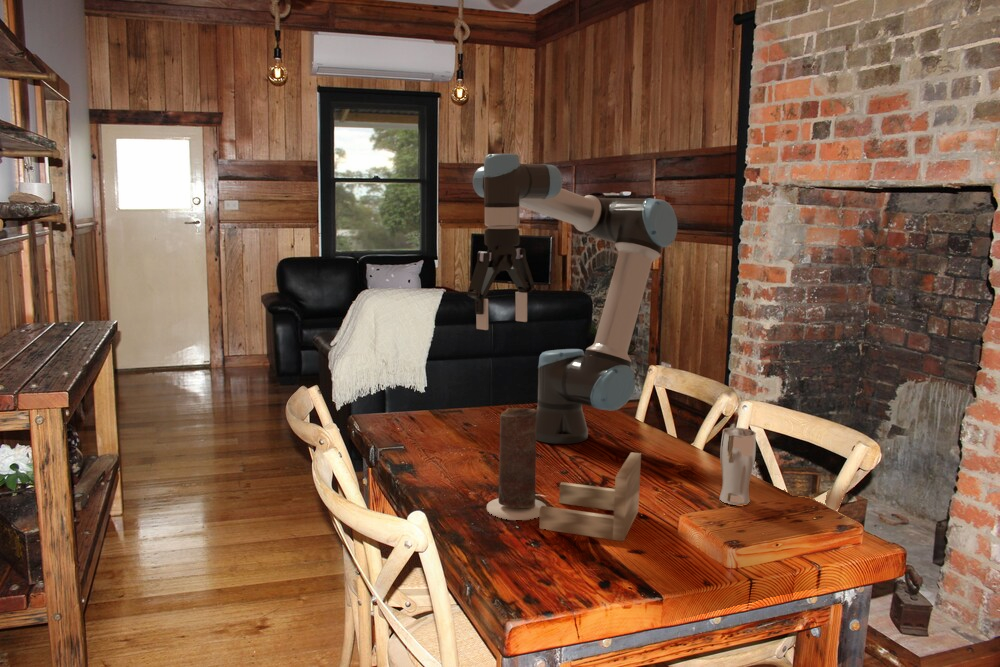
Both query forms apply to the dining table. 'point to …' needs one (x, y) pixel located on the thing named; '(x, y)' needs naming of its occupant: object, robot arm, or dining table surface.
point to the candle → (517, 458)
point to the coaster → (514, 511)
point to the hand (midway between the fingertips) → (502, 325)
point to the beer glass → (737, 464)
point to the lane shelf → (598, 505)
